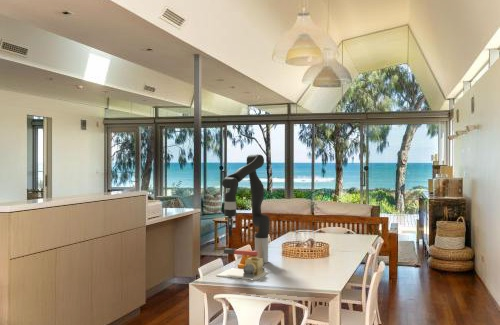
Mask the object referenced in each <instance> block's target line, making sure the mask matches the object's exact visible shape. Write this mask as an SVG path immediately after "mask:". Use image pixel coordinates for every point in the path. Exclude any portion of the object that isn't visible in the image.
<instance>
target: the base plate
mask: <svg viewBox="0 0 500 325" xmlns="http://www.w3.org/2000/svg"><path fill="white" fill-rule="evenodd" d="M243 273H244V271H243V269H241V268H238V267H237V268H236V267H235V268H233V267H231V268H228V269H226V270H224V271H222V272H220V273H218V274H216V277H217V276H222V277H221V278H227V277H232V278H231V279H238V278H242V279H241V280H248V279H253V280H252V281H258V280H259V279H261V278H262V277H264V276H266V275H268V274H269V273H270V271H267V270H264V271H263V273H262V274H260V275H258V276H254V277H253V278H250V277H243ZM265 274H266V275H265ZM260 277H261V278H260Z"/></svg>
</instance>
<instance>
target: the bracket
mask: <svg viewBox="0 0 500 325" xmlns="http://www.w3.org/2000/svg"><path fill="white" fill-rule="evenodd" d="M245 251H252V250H251V249H249V248H246V249H245ZM250 257H251V256H250V255H241V259H240V261H239V263H237V269H244V267H245V260H246V259H248V258H250Z"/></svg>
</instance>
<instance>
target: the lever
mask: <svg viewBox="0 0 500 325" xmlns="http://www.w3.org/2000/svg"><path fill="white" fill-rule="evenodd" d="M245 250H246V249H245ZM245 250H243V249H236V248H223V254H225V255H237V256H239V255H240V256H243V255H250V256H258V251H255V250H251V251H245Z"/></svg>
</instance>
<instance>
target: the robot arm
mask: <svg viewBox="0 0 500 325" xmlns="http://www.w3.org/2000/svg"><path fill="white" fill-rule="evenodd" d="M264 164H265V158H264V156H263V155H262V154H259V153H258V154H249V155H247V156H246V165H244V166H242V167H240V168H238V169H236V170H235V172H233V173H231V174H229V175H227V176H225V177H224V178H223V179H222V182H221V185H222V186H223V188H224V189H229V191H227V192H225V193H224V206H223V208H224V210H223V211H224V212H223V213H224V216H225V217H227V219H226V222H227V229H228V234H227V235H228V236H232V235H233V225H234V218H233V217H236V216H237V202H236V199H237V198H236V195H237V191H238V188H239V183H241V182H242V181H243V180H244V179H245V178H246V177H247V176H249V185H250V187H249V188H250V195H251V207H252V211H251V212H252V213H251V214H252V218H251V219H252V224H253V225H254V227H255V228H258V231H257V232H256V233H254V251H258V256H257V258H263V261H264V264H267V263H269V234H270V228H271V226H270V225H271V222H270V221H271V220H270V217H269V215H267V214H263V213H262V203H263V201H264V199H265V189H264V188H265V186H264V185H263V184H264V183H263V182H262V181H261V179H260V178H259V176H258V174H257V170H258V169H260V168H262V166H264Z"/></svg>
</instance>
